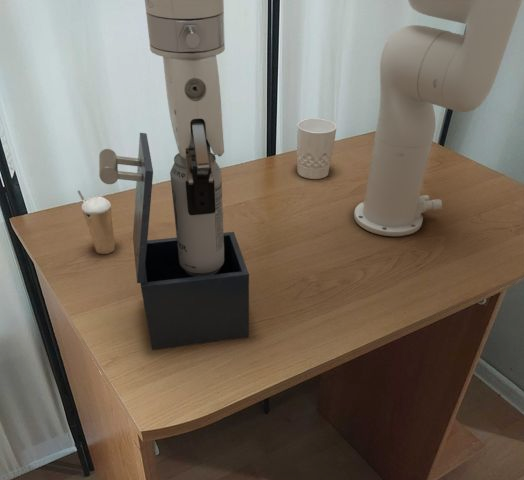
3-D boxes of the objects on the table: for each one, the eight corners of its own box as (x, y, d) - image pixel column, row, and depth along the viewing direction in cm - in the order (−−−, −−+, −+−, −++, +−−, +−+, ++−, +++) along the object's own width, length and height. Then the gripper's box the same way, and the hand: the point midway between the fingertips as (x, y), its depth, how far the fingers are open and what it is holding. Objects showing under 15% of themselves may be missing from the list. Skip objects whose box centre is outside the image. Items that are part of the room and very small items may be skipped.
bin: (235, 292, 83) (233, 231, 76) (248, 337, 76) (249, 273, 68) (146, 303, 81) (136, 241, 73) (151, 350, 73) (140, 286, 66)
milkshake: (99, 238, 94) (87, 184, 87) (124, 246, 92) (114, 192, 85) (82, 251, 91) (68, 196, 84) (107, 259, 89) (95, 204, 82)
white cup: (329, 182, 111) (334, 134, 105) (291, 178, 112) (294, 130, 106) (333, 166, 117) (338, 120, 110) (297, 163, 118) (300, 116, 111)
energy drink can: (180, 254, 74) (169, 147, 64) (224, 253, 75) (220, 147, 64) (178, 280, 70) (167, 169, 60) (225, 278, 70) (221, 169, 60)
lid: (146, 133, 64) (99, 127, 62) (153, 171, 56) (99, 165, 55) (138, 238, 73) (97, 235, 71) (143, 283, 66) (97, 281, 64)
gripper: (240, 55, 48) (241, 232, 60) (210, 12, 60) (217, 167, 72) (155, 58, 46) (174, 239, 59) (143, 14, 59) (161, 171, 71)
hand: (197, 198), depth 65 cm, fingers closed on energy drink can, 6 cm apart
